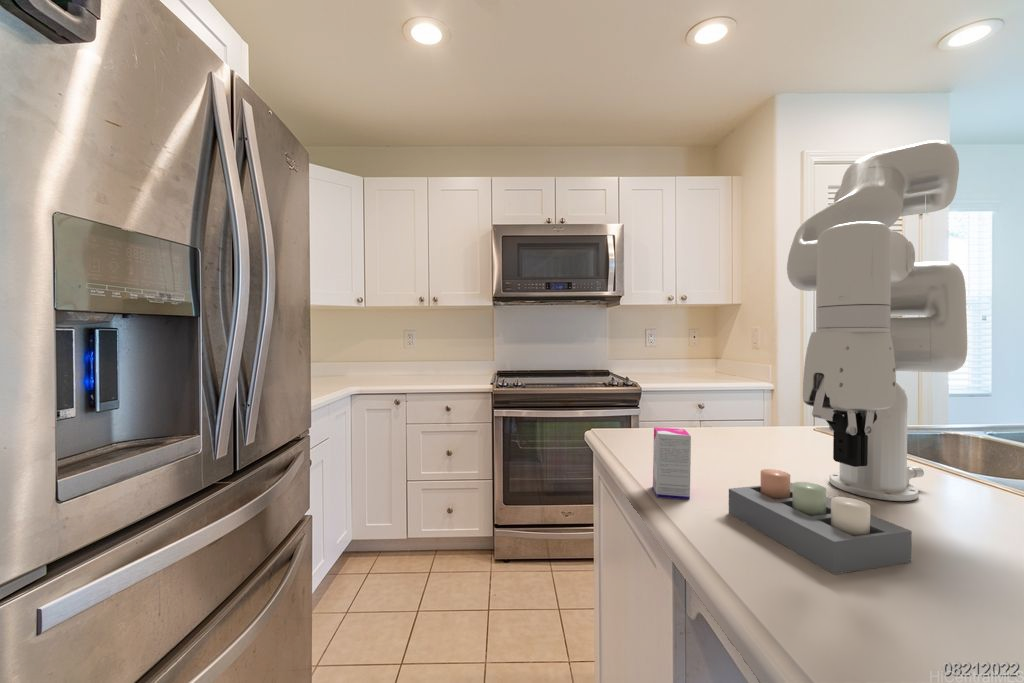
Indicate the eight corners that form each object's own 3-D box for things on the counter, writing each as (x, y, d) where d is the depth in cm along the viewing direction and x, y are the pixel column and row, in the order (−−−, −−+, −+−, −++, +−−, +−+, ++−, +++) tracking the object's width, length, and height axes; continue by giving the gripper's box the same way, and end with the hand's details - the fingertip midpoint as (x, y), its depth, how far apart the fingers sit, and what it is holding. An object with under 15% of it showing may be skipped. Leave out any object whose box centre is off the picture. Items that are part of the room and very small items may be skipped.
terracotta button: (775, 492, 70) (775, 468, 70) (796, 502, 66) (796, 476, 66) (754, 494, 69) (754, 470, 69) (774, 504, 65) (774, 478, 65)
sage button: (808, 507, 64) (808, 480, 64) (833, 518, 60) (833, 490, 60) (785, 509, 63) (785, 483, 63) (809, 521, 59) (810, 492, 59)
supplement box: (691, 500, 75) (691, 435, 74) (656, 497, 76) (655, 433, 76) (685, 488, 80) (685, 427, 80) (652, 486, 82) (651, 426, 81)
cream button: (847, 524, 58) (847, 495, 58) (878, 538, 54) (878, 507, 54) (823, 527, 57) (823, 498, 57) (852, 542, 53) (853, 510, 53)
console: (790, 506, 72) (790, 482, 72) (911, 562, 54) (911, 531, 54) (728, 513, 69) (728, 488, 69) (834, 574, 52) (834, 541, 52)
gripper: (867, 323, 60) (866, 453, 60) (778, 321, 57) (777, 458, 57) (930, 321, 53) (928, 469, 53) (831, 319, 50) (829, 476, 50)
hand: (849, 463), depth 55 cm, fingers closed
